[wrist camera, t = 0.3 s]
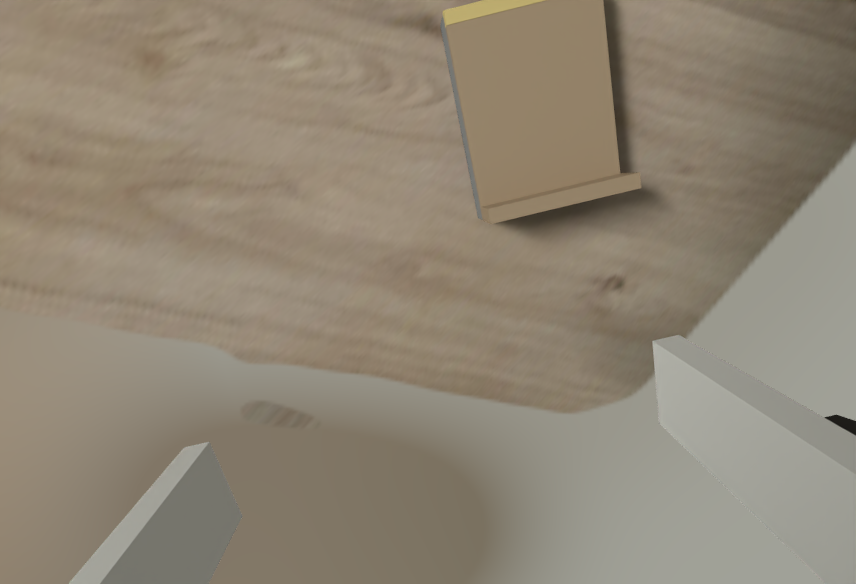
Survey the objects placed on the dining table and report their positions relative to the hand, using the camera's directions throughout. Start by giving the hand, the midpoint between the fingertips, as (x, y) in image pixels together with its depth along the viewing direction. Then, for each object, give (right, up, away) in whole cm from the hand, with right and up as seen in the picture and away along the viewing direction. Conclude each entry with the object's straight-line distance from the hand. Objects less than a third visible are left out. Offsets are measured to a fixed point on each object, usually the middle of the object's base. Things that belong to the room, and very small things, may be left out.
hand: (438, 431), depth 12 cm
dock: (+8, +20, +23) cm, 32 cm away
